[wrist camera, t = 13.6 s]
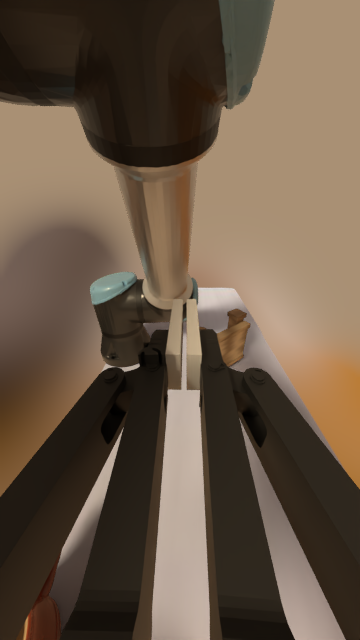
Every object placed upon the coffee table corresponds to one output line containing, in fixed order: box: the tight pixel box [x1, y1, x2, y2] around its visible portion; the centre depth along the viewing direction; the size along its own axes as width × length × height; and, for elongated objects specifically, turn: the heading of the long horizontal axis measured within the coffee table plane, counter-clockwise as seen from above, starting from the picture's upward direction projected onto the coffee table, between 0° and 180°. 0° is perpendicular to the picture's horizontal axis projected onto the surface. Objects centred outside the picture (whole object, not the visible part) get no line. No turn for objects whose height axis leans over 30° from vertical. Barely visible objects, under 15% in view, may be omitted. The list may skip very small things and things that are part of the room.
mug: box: [16, 550, 62, 640], centre depth 17 cm, size 12×9×10 cm
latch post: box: [228, 309, 247, 328], centre depth 49 cm, size 3×3×15 cm
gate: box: [217, 321, 250, 366], centre depth 46 cm, size 14×2×11 cm, turn 124°
